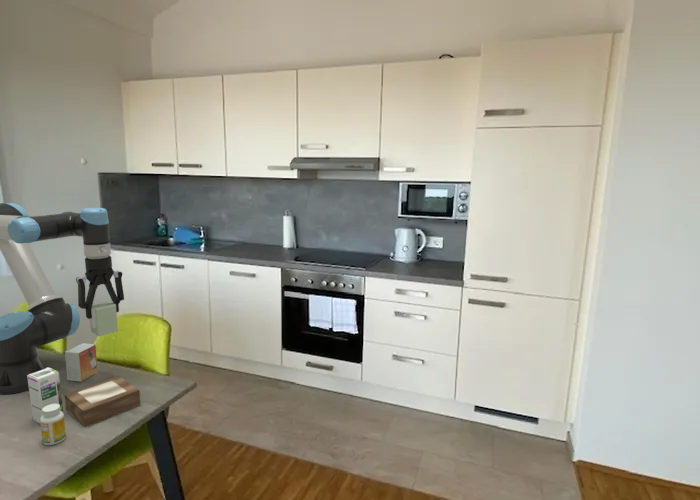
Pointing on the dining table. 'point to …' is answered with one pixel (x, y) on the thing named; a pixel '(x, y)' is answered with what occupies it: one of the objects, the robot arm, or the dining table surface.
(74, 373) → the small box
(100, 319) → the sage block
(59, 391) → the syrup box
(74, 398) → the walnut base
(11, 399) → the dining table surface
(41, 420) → the supplement bottle
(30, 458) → the dining table surface
